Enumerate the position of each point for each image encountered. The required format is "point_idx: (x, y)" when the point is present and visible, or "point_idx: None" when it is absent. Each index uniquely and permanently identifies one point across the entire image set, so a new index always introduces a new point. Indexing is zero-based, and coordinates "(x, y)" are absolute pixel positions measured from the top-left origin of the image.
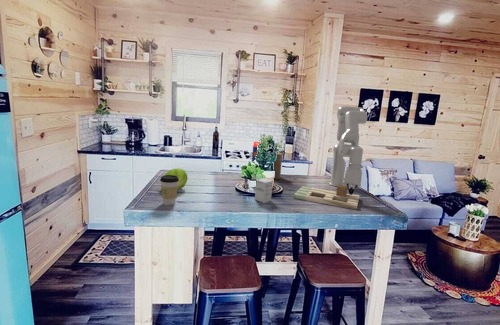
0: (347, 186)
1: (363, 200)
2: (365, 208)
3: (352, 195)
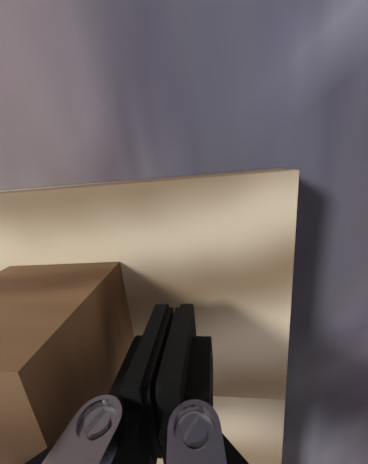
0: (33, 357)
1: (341, 196)
2: (341, 434)
3: (198, 253)
